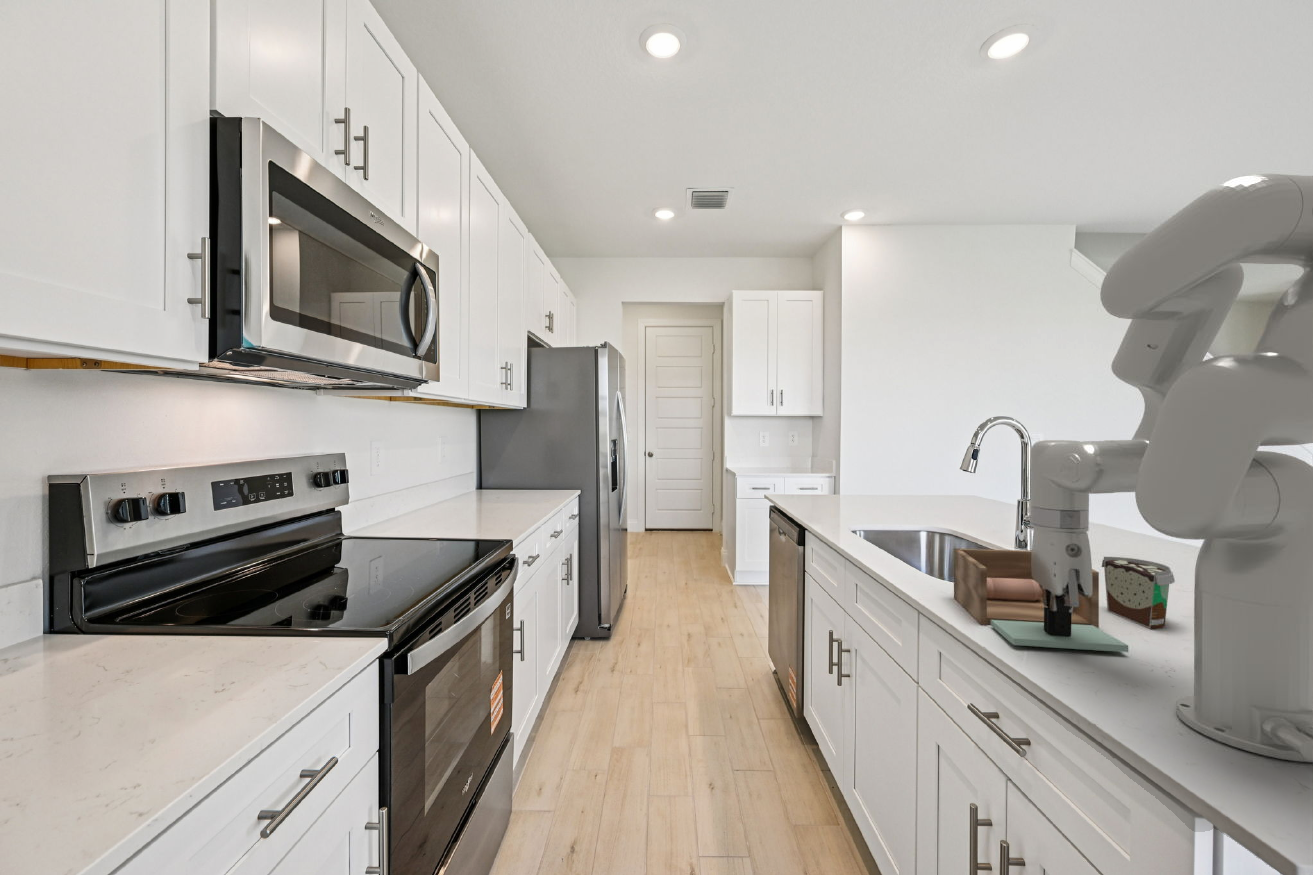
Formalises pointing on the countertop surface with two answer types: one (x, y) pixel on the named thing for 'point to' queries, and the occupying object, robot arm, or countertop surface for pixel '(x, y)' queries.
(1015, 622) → the flat green panel
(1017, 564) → the crate
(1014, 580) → the pink cylinder
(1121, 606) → the food container
